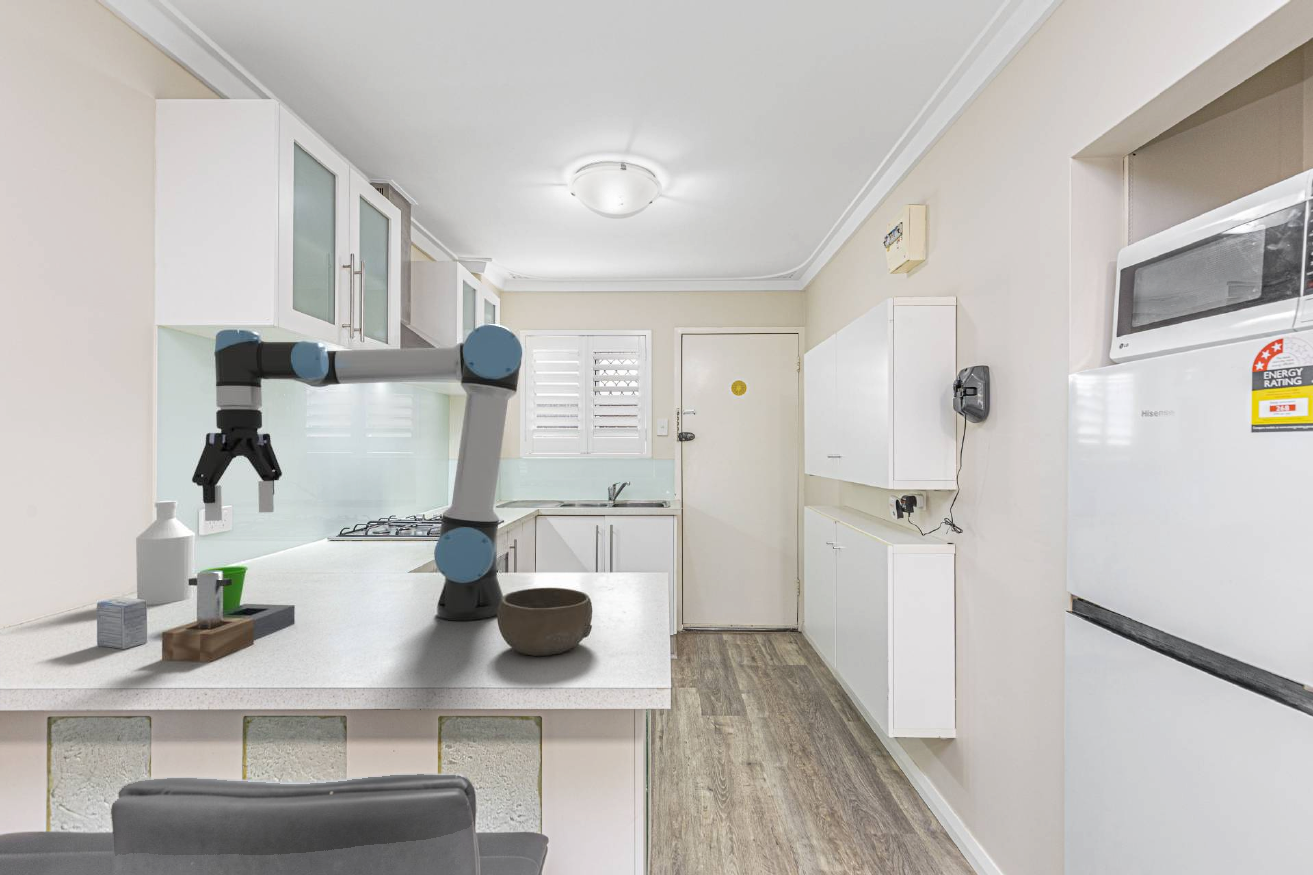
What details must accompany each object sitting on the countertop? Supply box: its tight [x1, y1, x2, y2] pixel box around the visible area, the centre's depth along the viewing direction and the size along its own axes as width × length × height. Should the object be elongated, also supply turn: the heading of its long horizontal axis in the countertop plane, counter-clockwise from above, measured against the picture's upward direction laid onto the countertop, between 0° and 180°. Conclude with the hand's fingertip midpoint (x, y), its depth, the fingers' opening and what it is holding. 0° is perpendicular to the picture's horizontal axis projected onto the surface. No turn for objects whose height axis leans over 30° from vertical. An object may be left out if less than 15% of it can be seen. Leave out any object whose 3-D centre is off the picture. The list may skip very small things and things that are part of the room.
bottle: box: [135, 500, 196, 606], centre depth 159 cm, size 12×12×25 cm
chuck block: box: [223, 603, 296, 641], centre depth 131 cm, size 12×12×4 cm
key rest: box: [161, 618, 255, 663], centre depth 118 cm, size 10×10×5 cm
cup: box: [200, 565, 249, 611], centre depth 141 cm, size 9×9×11 cm
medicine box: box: [96, 596, 148, 650], centre depth 122 cm, size 8×4×9 cm, turn 71°
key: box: [189, 570, 232, 630], centre depth 118 cm, size 4×8×15 cm, turn 83°
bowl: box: [496, 587, 593, 657], centre depth 119 cm, size 17×18×10 cm
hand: (241, 516), depth 123 cm, fingers open, 13 cm apart
